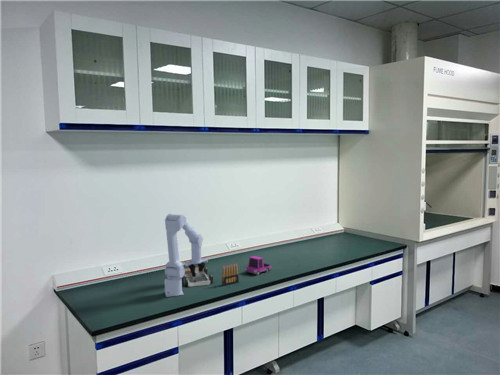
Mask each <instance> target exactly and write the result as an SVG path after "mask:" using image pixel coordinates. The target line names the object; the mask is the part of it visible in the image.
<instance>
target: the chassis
mask: <svg viewBox="0 0 500 375" xmlns="http://www.w3.org/2000/svg"><path fill="white" fill-rule="evenodd" d="M184 269H185V274H184V276H183V285H184V286H187V287H188V288H194V287H204V286H211V283H213V282H214V276H213V274H212V273H209V274H208V267H207V266H206V265H205V266H204V268H203V271H202V279H203V280H201V281H195V280H193V276H192V273H191V270H190V268H189V267H187V268H186V267H184ZM196 270H199V268H198V266H197V267H196V266H195V271H196ZM207 274H208V275H207Z"/></svg>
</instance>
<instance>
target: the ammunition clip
mask: <svg viewBox="0 0 500 375" xmlns="http://www.w3.org/2000/svg"><path fill="white" fill-rule="evenodd" d="M238 269H239V268H238V263H237V262H235V263H230V264H228V265H227V264H225V265H223V266H222V276H221V285H222V286H223V287H224V286H229V285H233V284H238V283H240V282H239V279H240V278H239V272H238V271H239V270H238Z"/></svg>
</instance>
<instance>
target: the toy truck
mask: <svg viewBox="0 0 500 375" xmlns="http://www.w3.org/2000/svg"><path fill="white" fill-rule="evenodd" d="M269 270H272V264H268V263H265V262H264V258H263V257H261V256H256V255H253V256H250V257H249V260H248V264H247V267H245V268H244V272H246V273H249V274H253V275H256V276H259V275H260V273H262V272H267V273H268V272H269Z"/></svg>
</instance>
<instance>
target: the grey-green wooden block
mask: <svg viewBox="0 0 500 375" xmlns="http://www.w3.org/2000/svg"><path fill="white" fill-rule="evenodd" d="M193 280H195V281H201V280H203V279H202V272H201V271H199V270H196V271H195V277H193Z"/></svg>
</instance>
